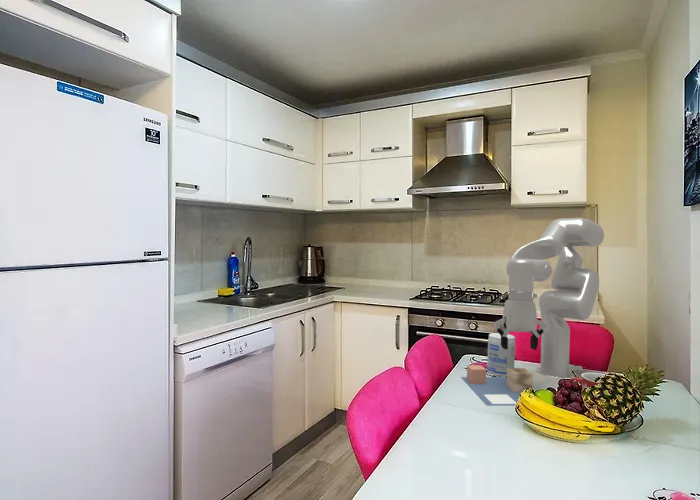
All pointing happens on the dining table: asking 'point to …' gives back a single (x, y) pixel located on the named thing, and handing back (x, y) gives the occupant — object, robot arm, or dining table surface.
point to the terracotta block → (476, 374)
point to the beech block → (519, 379)
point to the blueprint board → (494, 392)
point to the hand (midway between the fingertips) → (519, 348)
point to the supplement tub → (500, 355)
